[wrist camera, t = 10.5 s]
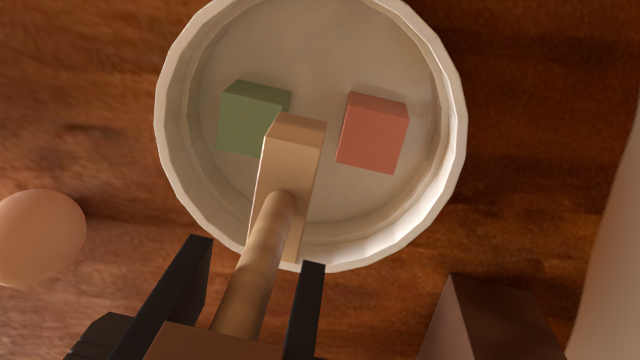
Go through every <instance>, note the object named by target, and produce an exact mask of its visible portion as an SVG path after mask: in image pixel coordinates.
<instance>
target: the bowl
mask: <svg viewBox="0 0 640 360" xmlns="http://www.w3.org/2000/svg"><path fill="white" fill-rule="evenodd" d="M237 79H240V80H244V81H248V82H253V83H257V84H261V85H266V86H270V87H274V88H279V89H283V90H287V91H291V92H292V95H291V100H290V106H289V111H288V113H290V114H294V115H299V116H303V117H307V118H312V119H316V120H320V121H325V122H328V126H327V130H326V134H325V139H324V143H323V148H322V152H321V156H320V161H319V165H318V170H317V174H316V179H315V183H314V187H313V192H312V196H311V201H310V205H309V209H308V214H307V218H306V223H305V227H304V231H303V235H302V240H301V244H300V248H299V252H298V257H297V261H296V263H295V264H293V263H288V262H284V261H280V264H279V267H278V268H280V269H285V270H289V271H294V272H300V271H301V267H302V262H303V259H304V260H309V261H313V262H317V263H322V264H326V268H325V273H333V272H334V273H336V272H340V271H345V270H349V269H354V268H358V267H363V266H367V265H369V264H372V263H374V262H376V261H378V260H380V259H382V258H384V257H386V256H389V255H391V254H393V253H395V252H397V251H399V250H401V249H402V248H404V247H405V246H406V245H407V244H408V243H410V242H411V241H412V240H413V239H414V238H416V237H417V236H418V235H419V234H420V233H422V232H423V231H424V230H425V229H426V228H428V227H429V226H430V225H431V224H432V222H433V221H434V219H435V218H436V217H437V215H438V214H439V212H440V211H441V209H442V208H443V207H444V205H445V204H446V202H447V201H448V200H449V198H450V197H451V195H452V194H453V191H454V189H455V186H456V183H457V180H458V178H459V175H460V172H461V169H462V167H463V164H464V161H465V157H466V146H467V132H468V112H467V107H466V102H465V98H464V93H463V88H462V83H461V79H460V76H459V73H458V71H457V69H456V67H455V66H454V64H453V62H452V60H451V58H450V56H449V54H448V52H447V51H446V49H445V47H444V45H443V43H442V41H441V39H440V38H439V37H438V35H437V34H436V33H435V32H434V31H433V30H432V29H431V28H430V27H429V26H428V25H427V24H426V23H425V22H424V21H423V20H422V19H421V18H420V17H419V16H418V15H417V14H416V12H415V11H414V10H413V9H412V8H411V7H410V6H409V5H408V4H406V3H405V2H404V1H402V0H213V1H212V2H210V3H209V4H208V5H206V6H205V7H204V8H202V9H201V10H200V11H198V12H197V13H196V14H195V15H194V16H193V17H192V19H191V20H190V22H189V23H188V24H187V26H186V27H185V28H184V30H183V31H182V32H181V34H180V35H179V37H178V38H177V39H176V41H175V42H174V43H173V45H172V46H171V48H170V49H169V52H168V55H167V58H166V61H165V63H164V66H163V69H162V72H161V74H160V77H159V80H158V83H157V87H156V98H155V112H154V130H155V135H156V140H157V145H158V150H159V155H160V160H161V164H162V166H163V168H164V171H165V173H166V175H167V177H168V179H169V181H170V183H171V185H172V187H173V189H174V192H175V194H176V196H177V197H178V199H179V200H180V201H181V203H182V204H183V205H184V206H185V207H186V209H187V210H188V211H189V212H190V214H191V215H192V216H193V217H194V219H195V220H196V221H197V222H198V224H199V225H200V226H201V227H202V228H204V229H205V230H206V231H208V232H209V233H210V234H211V235H213V236H214V237H215V238H216V239H218V240H219V241H220V242H222V243H223V244H224V245H225V246H227V247H228V248H230V249H231V250H233V251H235V252H237V253H240V254H242V252H243V250H244V248H245V246H246V240H247V235H248V229H249V223H250V217H251V211H252V205H253V199H254V194H255V188H256V182H257V176H258V170H259V164H260V159H256V158H252V157H248V156H243V155H239V154H235V153H230V152H226V151H222V150H217V149H215V143H216V136H217V128H218V120H219V112H220V104H221V96H222V91H224V90H225V89H226V88H227V87H229V86H230V85H231V84H232V83H233V82H235V81H236V80H237ZM350 91H354V92H358V93H362V94H367V95H371V96H375V97H380V98H384V99H388V100H392V101H397V102H401V103H405V104H406V108H407V111H408V114H409V117H410V122H409V125H408V129H407V132H406V135H405V139H404V142H403V145H402V149H401V152H400V155H399V159H398V162H397V165H396V168H395V172H394V175H388V174H384V173H380V172H375V171H371V170H367V169H362V168H358V167H354V166H349V165H345V164H341V163H336V162H335V157H336V151H337V145H338V140H339V136H340V131H341V127H342V123H343V119H344V115H345V111H346V106H347V102H348V98H349V94H350Z"/></svg>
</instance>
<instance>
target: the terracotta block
mask: <svg viewBox="0 0 640 360" xmlns="http://www.w3.org/2000/svg"><path fill="white" fill-rule="evenodd" d="M409 122H410V117H409V114H408V111H407V108H406V104H405V103H401V102H397V101H392V100H388V99H384V98H380V97H375V96H371V95H367V94H362V93H358V92H354V91H350V94H349V98H348V102H347V106H346V111H345V115H344V119H343V123H342V127H341V131H340V136H339V140H338V145H337V151H336V157H335V162H336V163H341V164H345V165H349V166H354V167H358V168H362V169H367V170H371V171H375V172H380V173H384V174H388V175H394V172H395V168H396V165H397V162H398V159H399V155H400V152H401V149H402V145H403V142H404V139H405V135H406V132H407V129H408V125H409Z"/></svg>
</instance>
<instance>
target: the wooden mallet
mask: <svg viewBox="0 0 640 360" xmlns="http://www.w3.org/2000/svg"><path fill="white" fill-rule="evenodd" d="M327 126H328V122H325V121H320V120H316V119H312V118H307V117H303V116H299V115H294V114H290V113H285V112H281V111H280V112H279V113H278V115H277V117H276V118H275V120H274V122H273V123H272V125H271V126H270V128H269V130H268V131H267V133H266V135H265V136H264V141H263V147H262V153H261V159H260V164H259V170H258V176H257V182H256V188H255V194H254V199H253V205H252V211H251V217H250V223H249V229H248V235H247V240H246V246H245V248H244V250H243V252H242V255H241V257H240V259H239V262H238V264H237V266H236V268H235V271H234V273H233V275H232V278H231V280H230V282H229V284H228V287H227V289H226V291H225V294H224V296H223V298H222V300H221V303H220V305H219V307H218V310H217V312H216V314H215V316H214V319H213V321H212V323H211V326H210V328H209V330H205V329H201V328H196V327H192V326H187V325H183V324H179V323H174V322H170V321H165V322H164V323H163V325H162V327H161V328H160V330H159V332H158V334H157V335H156V337H155V339H154V340H153V342H152V344H151V346H150V347H149V349H148V351H147V353H146V354H145V356H144V358H143V360H283V356H284V352H285V350H284V348H283V347H280V346H276V345H272V344H267V343H263V342H258V341H257V340H258V336H259V333H260V329H261V326H262V322H263V319H264V315H265V312H266V309H267V305H268V302H269V298H270V295H271V291H272V288H273V285H274V281H275V278H276V274H277V271H278V267H279V264H280V261H284V262H288V263H293V264H295V263H296V261H297V257H298V252H299V248H300V244H301V240H302V235H303V231H304V227H305V223H306V218H307V214H308V209H309V205H310V201H311V196H312V192H313V187H314V183H315V179H316V174H317V170H318V165H319V161H320V156H321V152H322V148H323V143H324V139H325V134H326V130H327Z"/></svg>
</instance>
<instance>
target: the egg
mask: <svg viewBox="0 0 640 360" xmlns="http://www.w3.org/2000/svg"><path fill="white" fill-rule="evenodd" d="M86 231H87V226H86V220H85V216H84V214H83V211H82V210H81V208H80V207H79V205H78V204H77V203H76V202H75V201H74V200H73V199H72V198H70V197H68V196H66V195H64V194H62V193H59V192H57V191H54V190H48V189H31V190H26V191H22V192H18V193H16V194H13V195H11V196H9V197H8V198H6V199H4V200H3V201H1V202H0V285H5V286H22V285H29V284H33V283H36V282H40V281H43V280H46V279H48V278H50V277H52V276H54V275H56V274H57V273H59V272H60V271H62V270H63V269H64V268H66V267H67V266H68V265H69V264H70V263H71V262H72V261H73V260H74V259H75V258H76V256H77V255H78V253H79V252H80V250H81V249H82V247H83V244H84V242H85V239H86Z"/></svg>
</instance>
